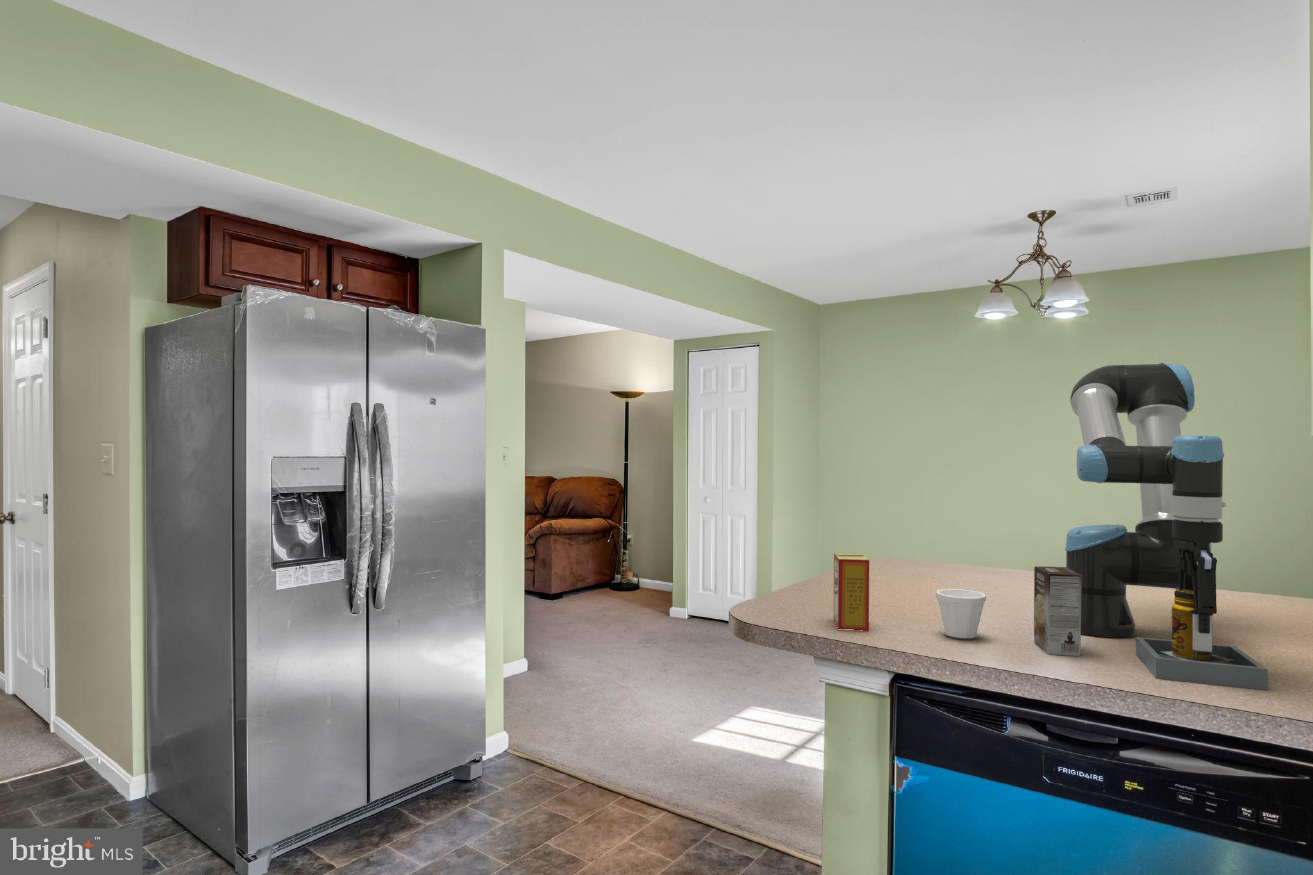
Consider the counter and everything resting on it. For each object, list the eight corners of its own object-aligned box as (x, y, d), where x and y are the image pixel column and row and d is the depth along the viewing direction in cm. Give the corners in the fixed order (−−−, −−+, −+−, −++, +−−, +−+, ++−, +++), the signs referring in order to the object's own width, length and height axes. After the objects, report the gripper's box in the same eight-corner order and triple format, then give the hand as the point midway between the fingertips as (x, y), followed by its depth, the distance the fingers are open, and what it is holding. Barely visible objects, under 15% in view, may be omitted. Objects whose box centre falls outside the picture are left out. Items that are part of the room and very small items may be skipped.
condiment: (1159, 652, 139) (1160, 588, 139) (1199, 650, 140) (1199, 587, 140) (1193, 663, 132) (1193, 596, 132) (1235, 662, 133) (1235, 595, 133)
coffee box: (1032, 642, 155) (1032, 565, 155) (1065, 644, 153) (1065, 566, 154) (1047, 654, 145) (1047, 572, 146) (1082, 656, 144) (1083, 574, 145)
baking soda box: (868, 631, 163) (869, 558, 163) (838, 630, 163) (838, 557, 164) (862, 621, 172) (862, 552, 172) (833, 620, 173) (834, 551, 173)
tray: (1155, 678, 131) (1155, 658, 131) (1135, 654, 146) (1135, 636, 146) (1267, 690, 125) (1267, 669, 125) (1234, 664, 140) (1235, 645, 140)
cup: (975, 645, 152) (976, 599, 152) (927, 636, 159) (928, 593, 159) (992, 636, 159) (992, 593, 159) (946, 628, 166) (946, 586, 166)
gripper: (1240, 525, 126) (1239, 662, 125) (1205, 515, 143) (1205, 635, 143) (1187, 523, 128) (1186, 657, 128) (1159, 514, 146) (1159, 631, 146)
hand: (1196, 645), depth 136 cm, fingers closed on condiment, 6 cm apart
